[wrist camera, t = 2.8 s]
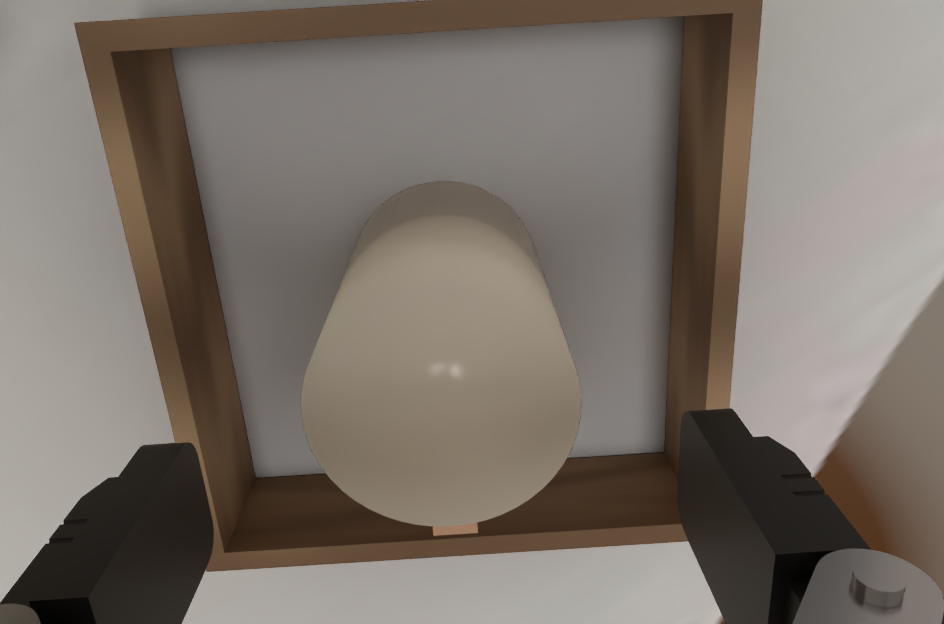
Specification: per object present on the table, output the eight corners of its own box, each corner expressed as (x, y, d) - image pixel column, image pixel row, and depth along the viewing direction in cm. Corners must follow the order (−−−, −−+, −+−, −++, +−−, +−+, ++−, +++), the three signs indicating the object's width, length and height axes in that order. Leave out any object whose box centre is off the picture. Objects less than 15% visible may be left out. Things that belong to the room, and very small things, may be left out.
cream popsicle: (343, 187, 20) (280, 289, 13) (534, 175, 20) (581, 270, 13) (369, 401, 23) (330, 590, 15) (539, 390, 23) (582, 573, 15)
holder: (139, 19, 19) (74, 23, 15) (709, -16, 19) (763, -21, 15) (240, 495, 24) (206, 571, 21) (682, 467, 24) (718, 539, 21)
